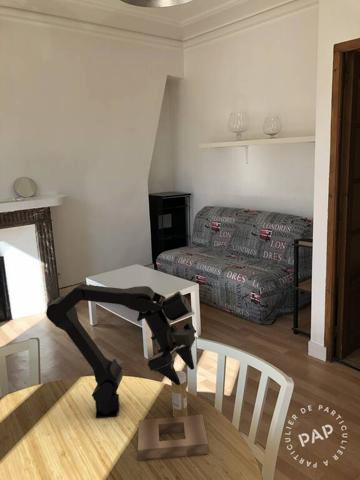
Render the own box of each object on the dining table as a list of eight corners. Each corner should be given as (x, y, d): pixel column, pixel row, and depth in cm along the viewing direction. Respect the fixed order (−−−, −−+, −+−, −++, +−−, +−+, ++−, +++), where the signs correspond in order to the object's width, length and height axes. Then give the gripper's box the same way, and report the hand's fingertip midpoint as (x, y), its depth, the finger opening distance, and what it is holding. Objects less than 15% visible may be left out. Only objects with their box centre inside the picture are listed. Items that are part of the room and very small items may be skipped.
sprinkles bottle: (190, 416, 123) (189, 374, 121) (178, 422, 121) (175, 380, 118) (182, 408, 127) (180, 368, 124) (169, 414, 125) (167, 373, 122)
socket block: (138, 460, 107) (137, 450, 106) (139, 429, 118) (138, 420, 118) (208, 453, 108) (207, 443, 107) (202, 424, 120) (202, 414, 119)
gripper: (166, 330, 107) (194, 385, 106) (195, 306, 124) (220, 354, 123) (135, 344, 113) (162, 396, 112) (167, 319, 129) (191, 365, 128)
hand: (186, 376), depth 119 cm, fingers open, 9 cm apart
